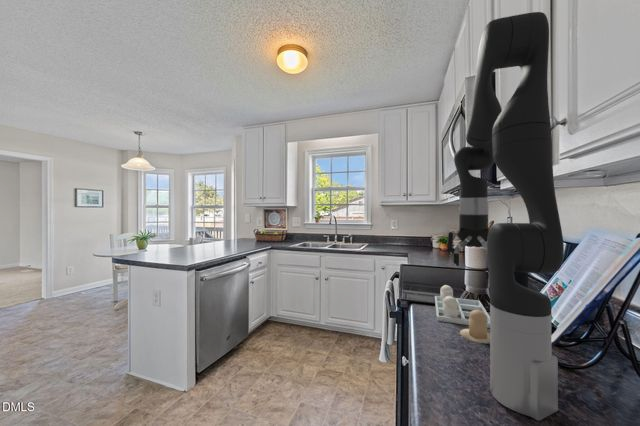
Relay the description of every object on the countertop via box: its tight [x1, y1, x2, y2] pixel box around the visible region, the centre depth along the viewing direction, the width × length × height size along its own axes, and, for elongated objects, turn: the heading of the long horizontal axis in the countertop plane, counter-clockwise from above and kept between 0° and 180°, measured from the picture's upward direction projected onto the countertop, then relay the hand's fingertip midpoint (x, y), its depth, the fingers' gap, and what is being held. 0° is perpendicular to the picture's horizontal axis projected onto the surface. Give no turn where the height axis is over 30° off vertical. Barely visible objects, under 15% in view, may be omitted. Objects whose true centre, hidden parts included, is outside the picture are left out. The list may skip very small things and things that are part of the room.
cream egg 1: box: [439, 284, 454, 302], centre depth 102 cm, size 4×4×7 cm
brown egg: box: [468, 310, 488, 339], centre depth 75 cm, size 4×4×7 cm
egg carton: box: [434, 295, 490, 329], centre depth 93 cm, size 23×16×2 cm
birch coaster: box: [459, 328, 490, 344], centre depth 75 cm, size 9×9×1 cm
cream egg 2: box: [442, 296, 459, 318], centre depth 88 cm, size 4×4×7 cm
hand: (473, 266), depth 79 cm, fingers open, 8 cm apart
